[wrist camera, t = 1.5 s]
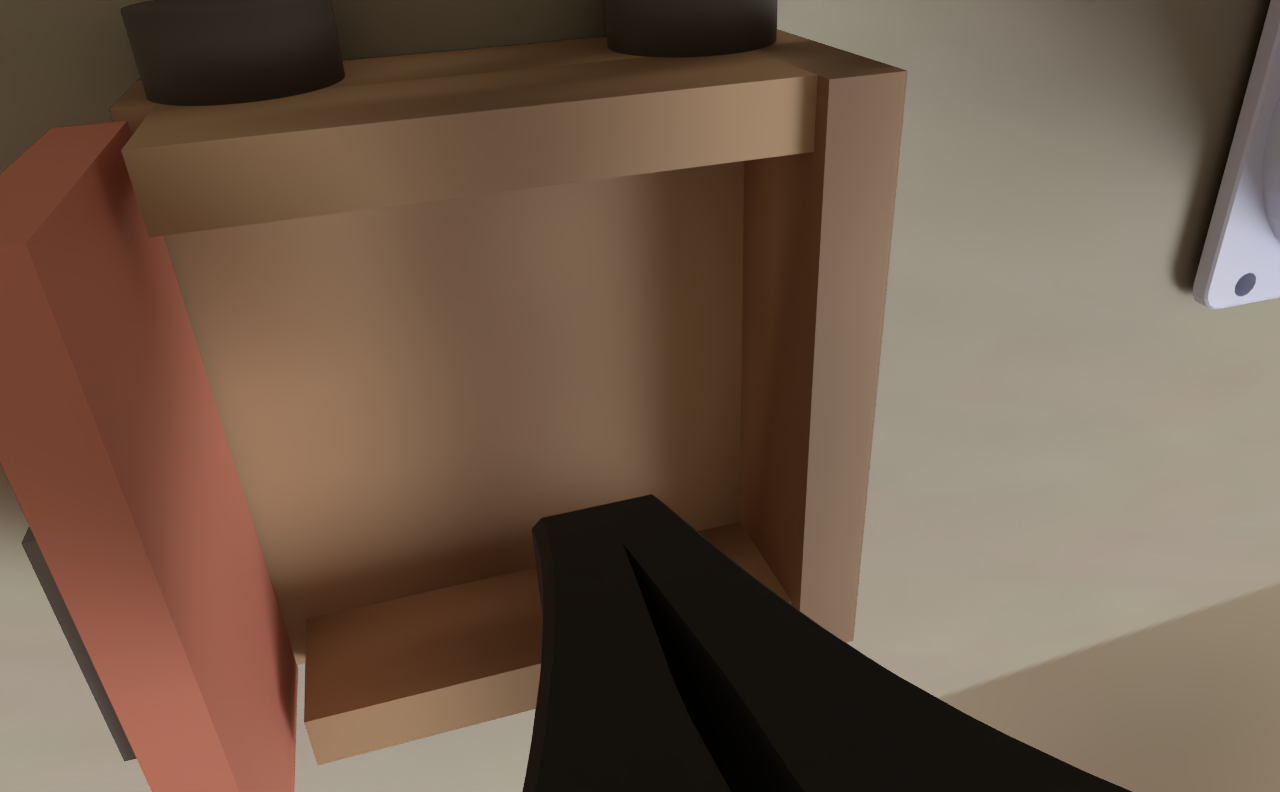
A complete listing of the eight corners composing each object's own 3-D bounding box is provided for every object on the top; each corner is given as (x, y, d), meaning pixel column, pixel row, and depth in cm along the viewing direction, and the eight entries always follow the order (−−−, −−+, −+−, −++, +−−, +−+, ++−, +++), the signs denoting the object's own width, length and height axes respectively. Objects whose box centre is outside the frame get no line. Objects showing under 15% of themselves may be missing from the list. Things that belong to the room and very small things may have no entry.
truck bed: (757, -48, 14) (916, -23, 10) (747, 529, 20) (849, 683, 16) (113, -1, 12) (17, 52, 8) (302, 630, 17) (297, 835, 14)
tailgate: (126, 120, 11) (25, 244, 7) (297, 668, 15) (290, 920, 11) (22, 131, 11) (-141, 264, 7) (226, 685, 15) (195, 949, 11)
